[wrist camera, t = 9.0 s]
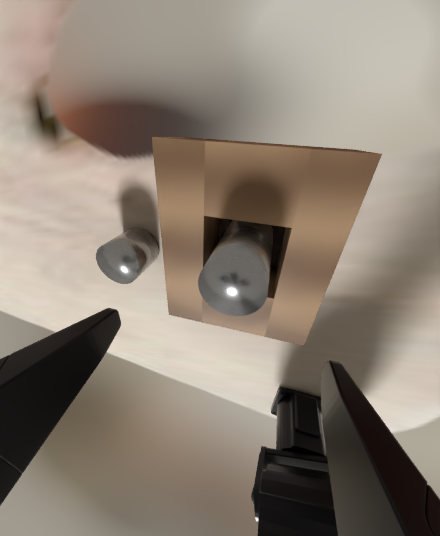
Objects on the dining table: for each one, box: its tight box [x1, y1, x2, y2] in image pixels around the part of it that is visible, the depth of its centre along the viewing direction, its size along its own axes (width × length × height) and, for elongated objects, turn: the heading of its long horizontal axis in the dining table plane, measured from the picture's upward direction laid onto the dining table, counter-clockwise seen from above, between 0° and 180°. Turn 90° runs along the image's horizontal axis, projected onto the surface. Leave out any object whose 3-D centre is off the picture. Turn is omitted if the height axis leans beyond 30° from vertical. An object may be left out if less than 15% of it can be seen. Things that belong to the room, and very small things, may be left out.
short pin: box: [96, 228, 159, 284], centre depth 21 cm, size 4×4×4 cm
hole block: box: [152, 137, 382, 346], centre depth 17 cm, size 14×12×4 cm
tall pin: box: [198, 220, 273, 316], centre depth 15 cm, size 4×4×8 cm
